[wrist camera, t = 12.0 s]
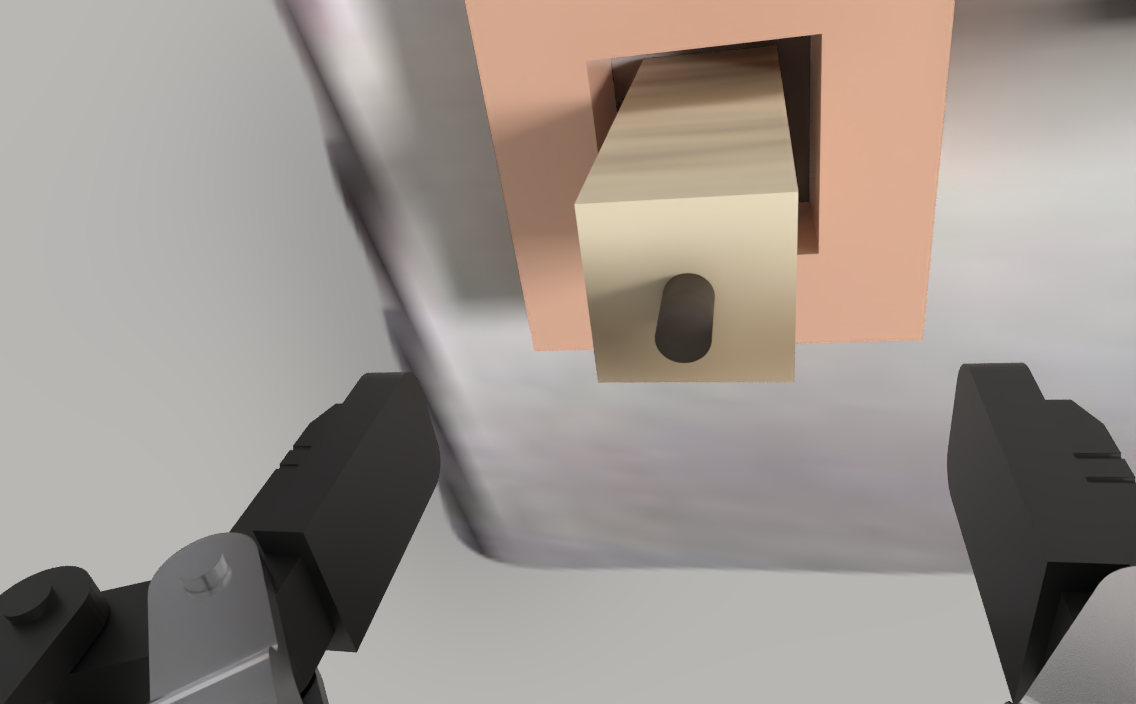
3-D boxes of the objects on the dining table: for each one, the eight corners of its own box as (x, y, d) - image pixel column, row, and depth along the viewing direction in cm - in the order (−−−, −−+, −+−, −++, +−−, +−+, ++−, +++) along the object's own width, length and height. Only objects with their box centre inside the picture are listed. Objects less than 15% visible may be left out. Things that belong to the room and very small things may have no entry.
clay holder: (495, -63, 24) (455, -47, 20) (931, -132, 21) (967, -127, 17) (558, 294, 30) (534, 351, 26) (901, 278, 27) (922, 339, 24)
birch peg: (643, 58, 25) (557, 239, 13) (776, 45, 24) (804, 228, 12) (652, 181, 27) (585, 428, 15) (775, 174, 26) (798, 431, 15)
